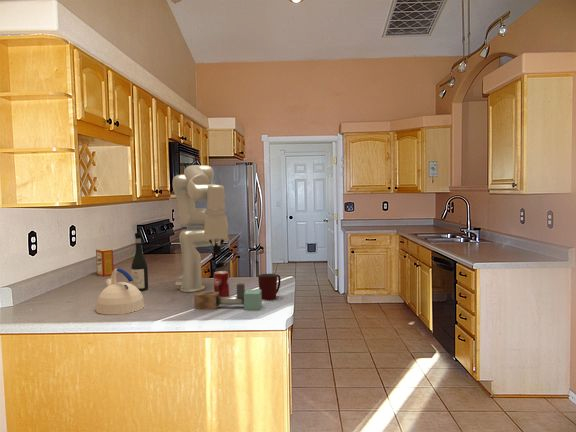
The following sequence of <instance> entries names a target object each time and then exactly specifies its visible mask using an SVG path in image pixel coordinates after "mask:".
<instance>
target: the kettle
mask: <svg viewBox="0 0 576 432" xmlns="http://www.w3.org/2000/svg"><path fill="white" fill-rule="evenodd" d="M118 273H120V274H122V275H123V276H124V277H125V278H126V279H127V281H128V282H129V283H128V282H125V281H120V282H119V281H118V282H117V274H118ZM132 281H134V280H133V279H132V275H131V274H129V272H128V271H126V270H124V269H122V268H115V269H114V271H113V272H112V274H111V276H110V278H107V279H106V280H105V281H104V282H105V284H106V287H104V289H103V290H102V292H101V293H100V294H99V295H98V298H97V300H96V309H95V310H96V313H97V314H99V313H100V314H99V315H105V314H106V316H107V315H109V316H113V315H114V316H115V315H116V314H117V315H124V314H125V313H126V314H130V312H131V313H135V312H138V311H140V309H141V310H142V309H144V308H145V300H144V296H143V293H142V291H139V289H138V288H137V287H135V286H134V285H132ZM130 282H131V283H130ZM143 307H144V308H143ZM134 311H135V312H134ZM126 314H125V315H126ZM117 315H116V316H117Z"/></svg>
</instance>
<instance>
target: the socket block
mask: <svg viewBox="0 0 576 432" xmlns="http://www.w3.org/2000/svg"><path fill="white" fill-rule="evenodd" d="M262 301H263V300H262V295H261V290H259V289H245V293H244V305H243V309H244V311H260V309H261V307H262V305H263V304H262Z"/></svg>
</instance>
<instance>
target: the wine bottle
mask: <svg viewBox="0 0 576 432" xmlns="http://www.w3.org/2000/svg"><path fill="white" fill-rule="evenodd" d="M141 236H142V233H141V232H135V233H134V238H135V254H134V257H133V259H132V263H131V266H130V267H131V268H130V269H131V277H132V279H133V280H134V281H131V284H132V285H134V286H135V287H137V288H138V289H139V291H140V292H142V291H147V290H148V289H149V276H148V275H149V272H148V263H147V261H146V259H145V256H144V254H143V251H142V250H143V249H142V237H141Z"/></svg>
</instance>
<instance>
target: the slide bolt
mask: <svg viewBox="0 0 576 432" xmlns="http://www.w3.org/2000/svg"><path fill="white" fill-rule="evenodd" d="M245 287H246V283H243V282H241V283H239V282H238V283H237V284H236V296H229V297H216V304H217V305H219V306H220V305H223V306H224V305H229V306H230V305H234V306H235V305H237V306H238V305H243V306H244V293H245V292H246V288H245Z"/></svg>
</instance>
